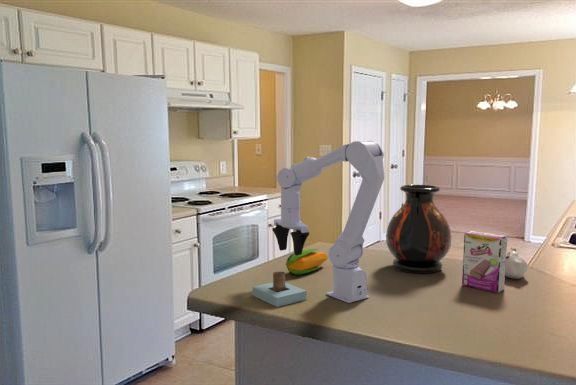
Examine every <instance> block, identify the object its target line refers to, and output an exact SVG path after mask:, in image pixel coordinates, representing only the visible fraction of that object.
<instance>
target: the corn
mask: <svg viewBox="0 0 576 385" xmlns="http://www.w3.org/2000/svg"><path fill="white" fill-rule="evenodd" d="M328 258H329V255H328V254H327V253H326V252H324V251H319V249H318V248H309V249H303V250H302V254H301V255H297V256H296V255H295V254H294V253H291V254H290V255H288V257H287V259H286V261H285V266H286V269H287V271H288V272H289V273H290V274H292V275H293V274H294V275H295V276H296V275H297V276H299V275H304V274H307V273H311V272H314V271H316V270H318V269H320V268H321V267H320V266H322V265H323V264H324V263H325V261H327V260H329V259H328Z"/></svg>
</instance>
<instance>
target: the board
mask: <svg viewBox="0 0 576 385" xmlns="http://www.w3.org/2000/svg"><path fill="white" fill-rule="evenodd" d="M251 287H252V289H251V291H252V293H251V294H252V296H253V297H255V298H258V299H259V300H261V301H263V302H265V303H268V304H270V305H272V306H274V307H276V308H279V307H283V306H287V305H290V304H295V303H297V302H298V303H299V302H303V301H306V300H307V290H305V289H302V288H300V287H297V286H295V285H292V284H290V283H288V282H286V281H285V291H281V292H275V291H273V281H272V282H268V283H264V284H259V285H255V286H251Z"/></svg>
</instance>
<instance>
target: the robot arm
mask: <svg viewBox="0 0 576 385" xmlns="http://www.w3.org/2000/svg"><path fill="white" fill-rule="evenodd" d="M384 156H385V153H384V151H383V149H382V147H381V145H380V144H379V143H378V142H376V141H374V140H367V141H359V140H354V141H352V142H350V143H347V144H343V145H341V146H339V147H338V148H336V149H334V150H332V151H330V152H328V153H326V154H325V155H322V156H320V157H319V158H315V157H313V156H306V157H304V158H303V161H300V162H298V163H292V164H291V166H290V167H282V168H281V169H280V170H279V171H278V173H277V176H276V180H277V183H278V185H279V186H280V218H276V219H275V218H274V219H273V226H274V227H272V228H271V229H272V232H273V233H274V235H275V237H276V241H277V245H278V248H279V251H286V250H287V248H288V238H289V234H290V236H291V239H292V243H293V254H295V255H296V256H297V255H301V254H302V251H303V250H304V246H305V243H306V242H307V241H306V240H307V239H308V237H309V236H310V231H309V225H307V224H305V223H303V221H302V220H301V190H302V185H303V183H305V182H307V181H310V180H312V179H315V178H317V177H319V176H320V175H321V173H322V172H323V170H324V169H326V168H328V167H331V166H334V165H336V164H339V163H341V162H346V163H347V162H348V163H349V164H350V165H351V166H352V167H353V168H354V169H355V170H356V171H357V172H358V173H359V176H360V177H361V183H360V185H359V187H358V188H359V189H358V192H357V194H356V196H355V199H354V202H353V204H352V207H351V210H350V213H349V214H348V215H349V216H348V219H347V221H346V224H345V226H344V229H343V231H342V232H341V234H340V235H339V236H338V237H337V238H336V240H335V242H334V243H333V244H332V246H331V247H330V248H329V251H328V258H329V259H328V260H329V262H331V264H332V290H331V291H328V292H326V293H325V295H327V296H330V297H332V298H334V299H338V300H339V301H343V302H345V303H349V304H350V303H351V304H352V303H354V302H358V301H362V300H365V299H368V298H369V297H370V296H369V295H368V274H367V272H366V271H365V270H364V269H362V268H361V266H360V259H361V258H362V256H363V254H364V242H365V238H364V237H363V235H364V233H365V230H366V227H367V224H368V222H369V219H370V216H371V214H372V213H373V209H374V207H375V205H376V204H375V203H376V201H377V198H378V196H379V194H380V191H381V188H382V186H383V183H384V181H385V170H384ZM290 230H293V231H291V232H290Z"/></svg>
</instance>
